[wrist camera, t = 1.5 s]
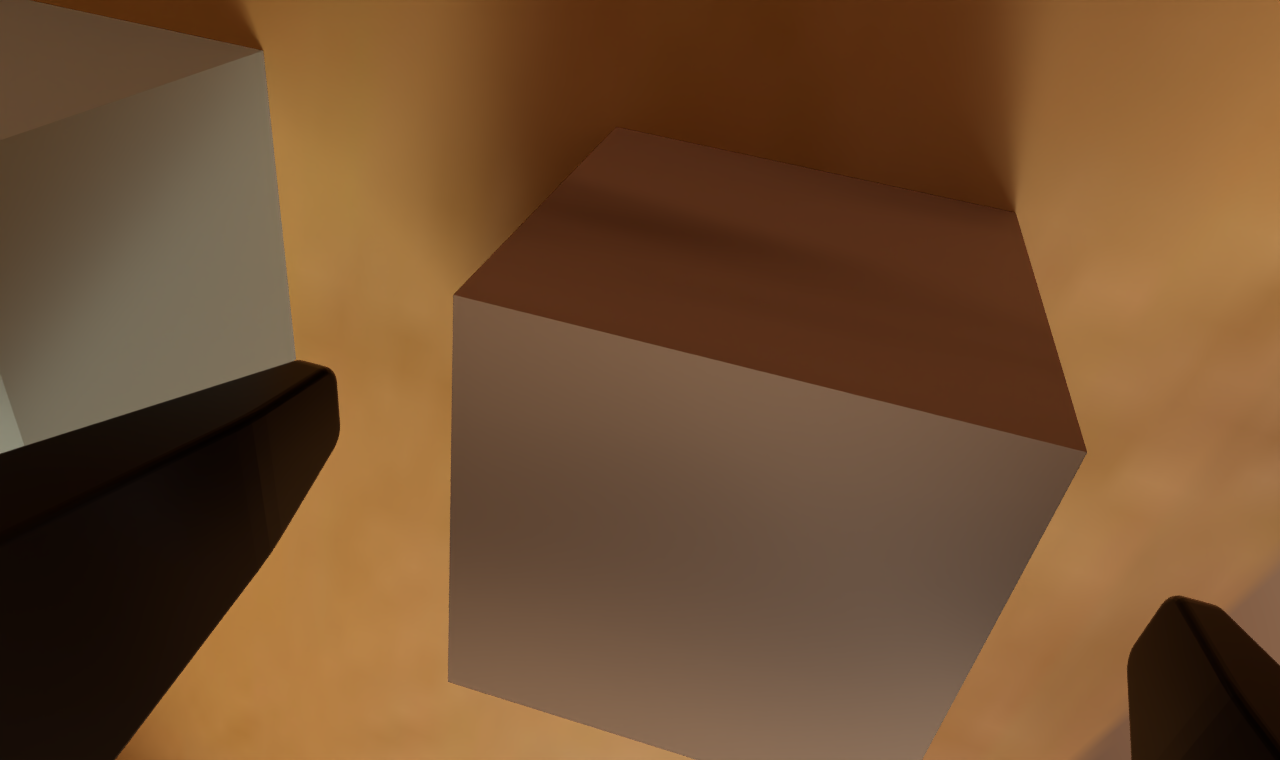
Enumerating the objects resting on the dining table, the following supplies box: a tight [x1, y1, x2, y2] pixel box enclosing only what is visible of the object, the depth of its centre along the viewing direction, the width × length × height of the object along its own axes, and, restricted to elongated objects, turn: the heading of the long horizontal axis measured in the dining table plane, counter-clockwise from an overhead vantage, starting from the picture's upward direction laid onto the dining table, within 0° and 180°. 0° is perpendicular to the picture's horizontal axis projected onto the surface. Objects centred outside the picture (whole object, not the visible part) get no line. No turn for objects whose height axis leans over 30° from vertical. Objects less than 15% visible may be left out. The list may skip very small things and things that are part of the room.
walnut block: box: [448, 127, 1087, 760], centre depth 10 cm, size 5×5×5 cm
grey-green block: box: [0, 0, 296, 453], centre depth 12 cm, size 5×5×5 cm
